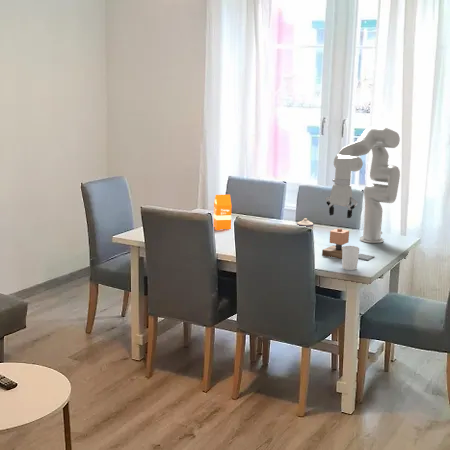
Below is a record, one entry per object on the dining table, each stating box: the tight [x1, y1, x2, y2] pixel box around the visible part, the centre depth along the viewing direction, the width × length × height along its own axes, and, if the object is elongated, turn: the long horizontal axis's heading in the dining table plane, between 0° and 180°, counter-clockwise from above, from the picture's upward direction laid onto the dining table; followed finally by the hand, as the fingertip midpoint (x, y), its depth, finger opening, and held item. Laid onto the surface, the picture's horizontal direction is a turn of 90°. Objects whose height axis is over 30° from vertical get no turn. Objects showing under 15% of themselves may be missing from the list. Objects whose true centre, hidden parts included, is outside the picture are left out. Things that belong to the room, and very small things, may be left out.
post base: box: [321, 244, 343, 260], centre depth 349 cm, size 12×12×11 cm
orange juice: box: [213, 194, 233, 231], centre depth 401 cm, size 8×9×20 cm
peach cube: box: [329, 227, 350, 246], centre depth 348 cm, size 7×7×7 cm
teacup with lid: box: [296, 217, 314, 230], centre depth 382 cm, size 12×9×12 cm
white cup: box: [341, 245, 360, 271], centre depth 326 cm, size 8×8×10 cm
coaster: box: [358, 253, 375, 261], centre depth 346 cm, size 8×8×1 cm
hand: (340, 216), depth 345 cm, fingers open, 9 cm apart
